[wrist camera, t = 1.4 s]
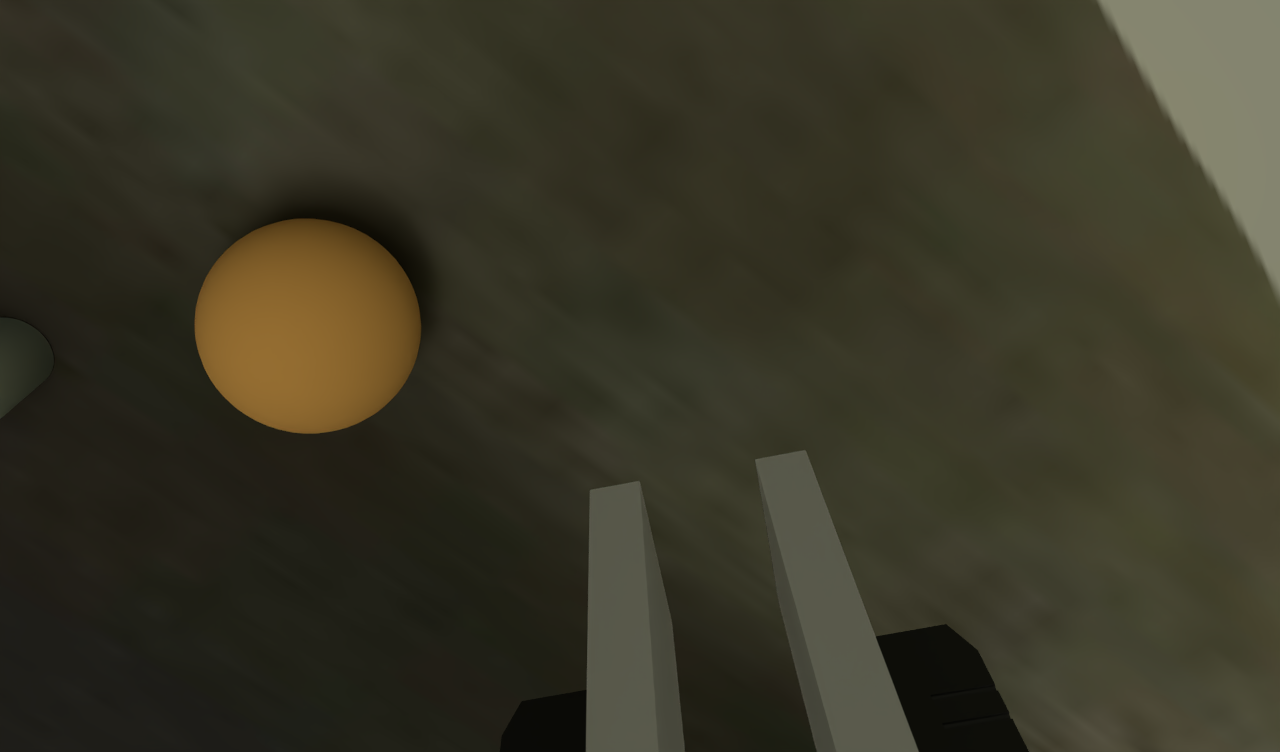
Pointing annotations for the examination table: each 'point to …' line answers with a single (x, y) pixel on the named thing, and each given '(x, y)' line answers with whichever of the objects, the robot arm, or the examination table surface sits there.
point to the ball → (307, 325)
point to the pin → (21, 362)
